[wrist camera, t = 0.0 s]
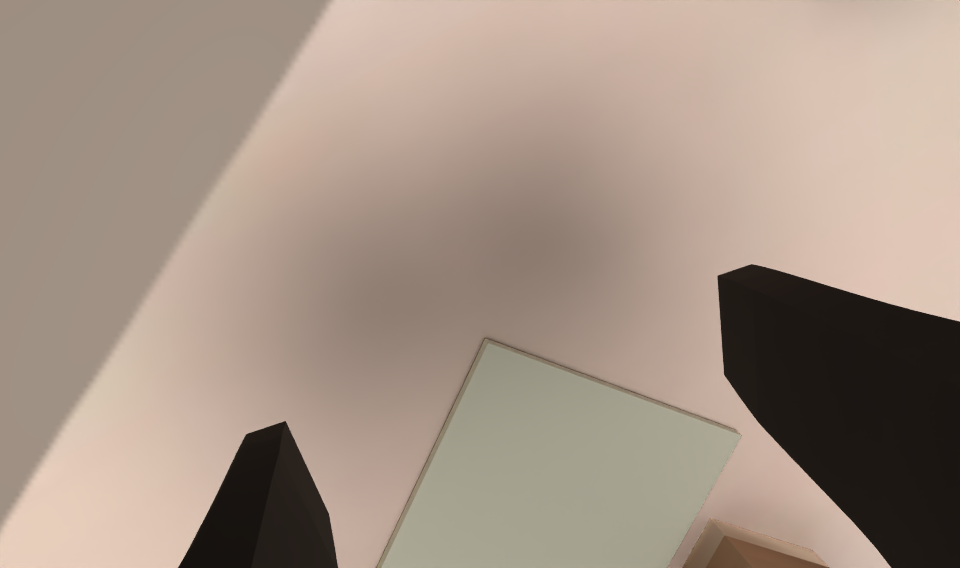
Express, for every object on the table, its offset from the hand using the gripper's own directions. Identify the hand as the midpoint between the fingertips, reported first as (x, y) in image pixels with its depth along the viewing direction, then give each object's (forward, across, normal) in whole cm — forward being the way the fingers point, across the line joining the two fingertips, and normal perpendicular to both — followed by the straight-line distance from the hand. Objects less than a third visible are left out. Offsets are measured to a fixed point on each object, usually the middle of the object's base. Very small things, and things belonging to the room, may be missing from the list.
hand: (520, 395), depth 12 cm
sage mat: (+8, -1, +13) cm, 16 cm away
